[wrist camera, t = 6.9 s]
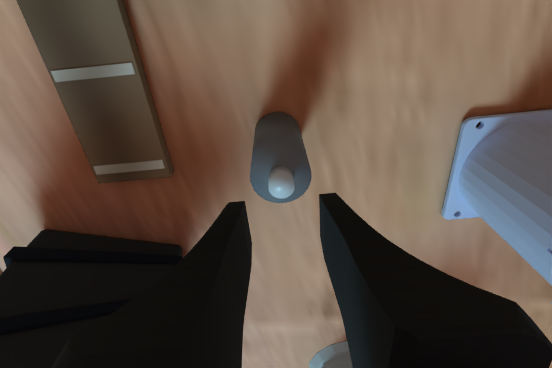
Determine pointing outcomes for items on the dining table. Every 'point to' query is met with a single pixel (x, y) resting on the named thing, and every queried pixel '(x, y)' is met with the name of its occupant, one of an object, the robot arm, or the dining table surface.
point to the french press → (332, 357)
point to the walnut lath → (101, 85)
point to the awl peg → (279, 159)
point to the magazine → (70, 289)
